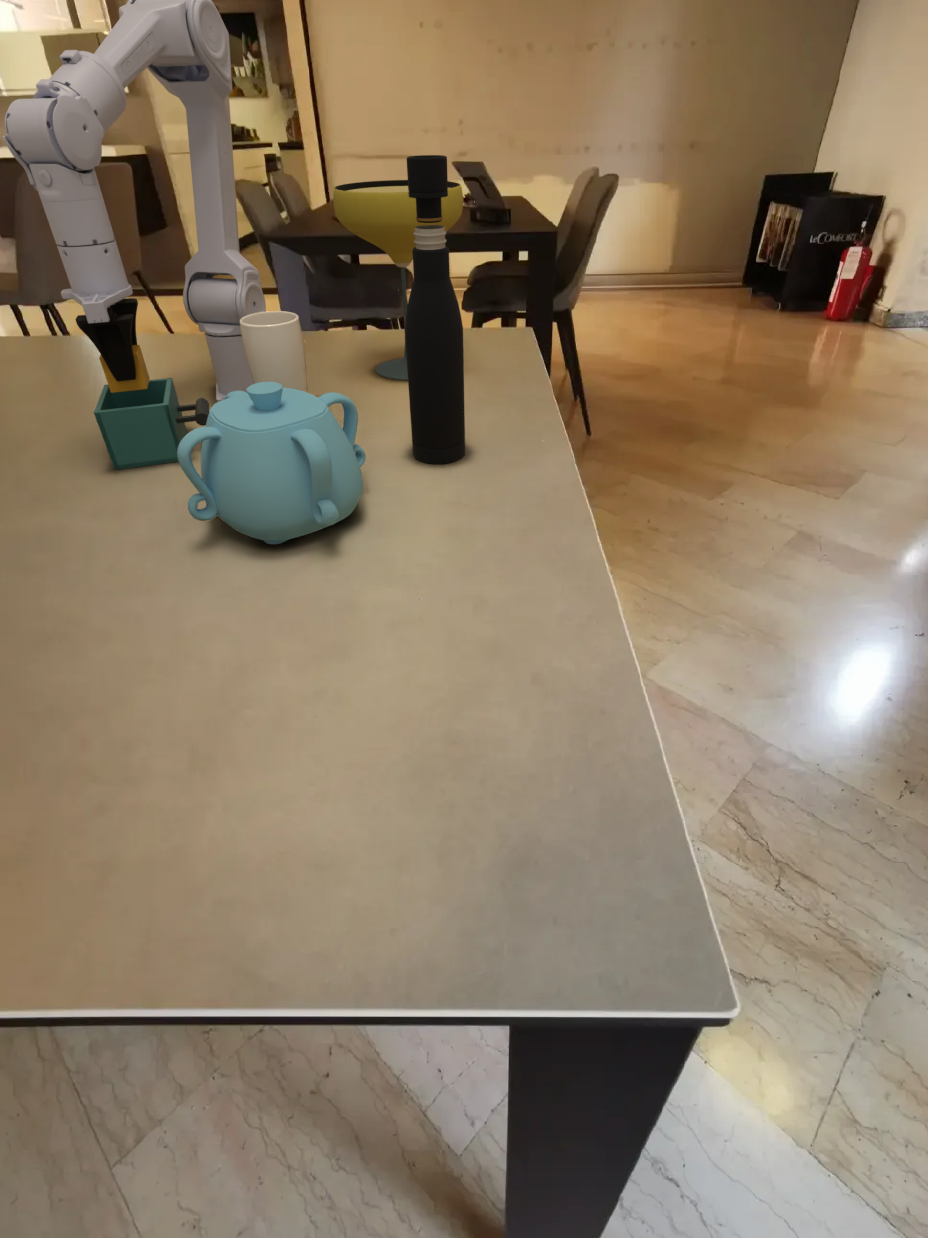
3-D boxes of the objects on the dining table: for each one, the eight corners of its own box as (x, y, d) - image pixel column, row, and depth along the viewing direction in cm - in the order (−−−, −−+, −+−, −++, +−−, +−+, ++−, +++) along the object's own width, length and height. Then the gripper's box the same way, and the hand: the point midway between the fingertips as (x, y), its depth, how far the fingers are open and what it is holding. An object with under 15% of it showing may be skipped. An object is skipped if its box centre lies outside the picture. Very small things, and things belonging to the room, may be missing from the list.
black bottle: (459, 466, 79) (452, 158, 60) (407, 462, 80) (384, 158, 61) (469, 444, 84) (466, 153, 65) (420, 441, 85) (403, 154, 66)
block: (149, 378, 81) (139, 344, 79) (147, 389, 78) (136, 354, 76) (114, 382, 80) (103, 347, 78) (110, 393, 77) (98, 357, 75)
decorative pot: (178, 548, 65) (133, 412, 57) (252, 475, 78) (224, 355, 69) (335, 564, 62) (312, 424, 54) (386, 486, 75) (373, 362, 66)
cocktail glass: (339, 362, 111) (316, 184, 96) (438, 347, 117) (432, 177, 102) (374, 395, 98) (354, 195, 83) (484, 377, 104) (485, 187, 89)
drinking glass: (253, 448, 84) (225, 321, 75) (288, 429, 89) (266, 308, 79) (295, 458, 81) (272, 328, 72) (329, 438, 86) (311, 314, 77)
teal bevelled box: (216, 427, 90) (203, 374, 85) (217, 456, 82) (202, 400, 78) (122, 438, 87) (104, 384, 83) (114, 470, 80) (93, 412, 75)
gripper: (56, 234, 75) (99, 359, 83) (30, 256, 64) (82, 397, 72) (124, 230, 76) (159, 353, 85) (109, 251, 65) (151, 390, 74)
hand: (128, 373), depth 78 cm, fingers closed on block, 4 cm apart
